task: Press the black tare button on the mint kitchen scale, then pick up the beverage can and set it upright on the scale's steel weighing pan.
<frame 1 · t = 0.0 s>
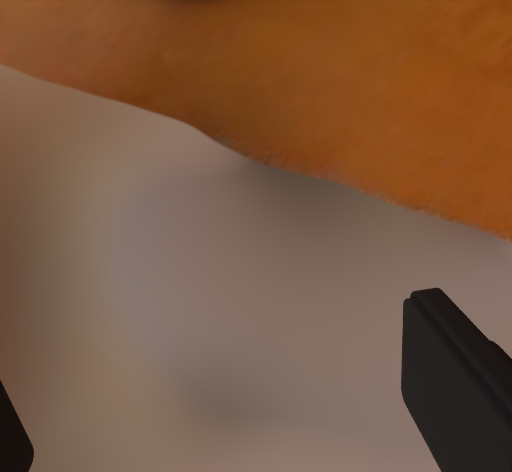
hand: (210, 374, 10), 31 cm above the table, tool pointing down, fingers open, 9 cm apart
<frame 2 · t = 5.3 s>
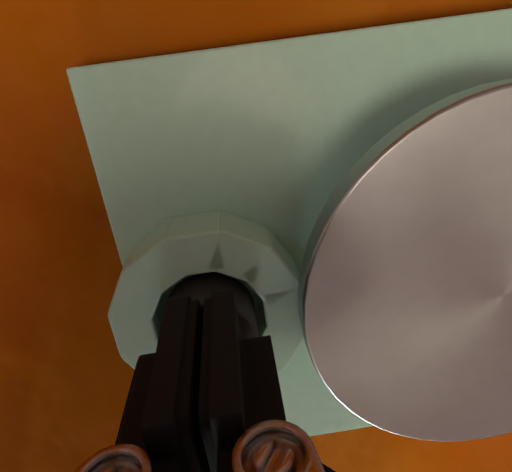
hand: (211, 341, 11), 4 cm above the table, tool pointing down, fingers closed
scale: (366, 249, 15), on the table
scale pan: (486, 280, 12), resting on scale
tare button: (210, 326, 12), point 3 cm above the table, slide at -0.2 cm, touching gripper
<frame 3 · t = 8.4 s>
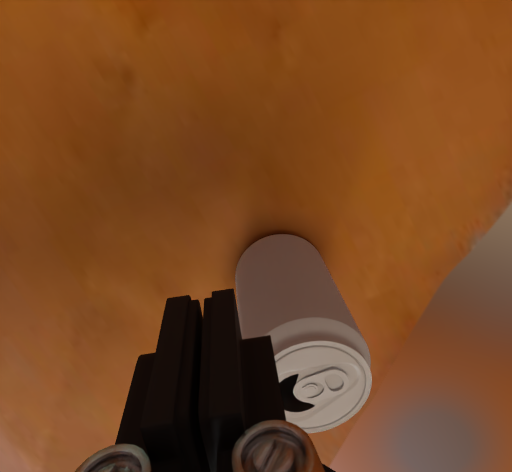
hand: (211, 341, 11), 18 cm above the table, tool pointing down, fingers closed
beverage can: (278, 268, 30), on the table
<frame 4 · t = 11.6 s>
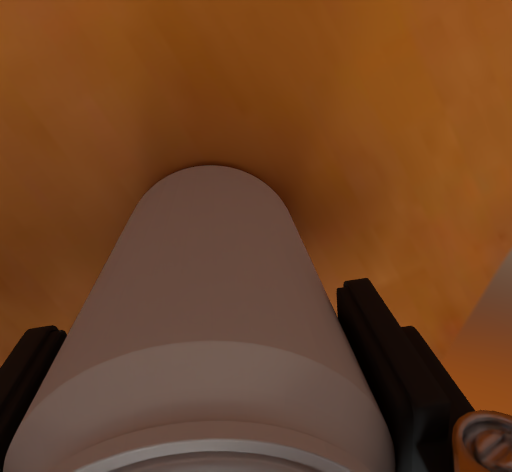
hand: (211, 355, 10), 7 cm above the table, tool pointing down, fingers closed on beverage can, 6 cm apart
beverage can: (213, 236, 17), on the table, touching gripper
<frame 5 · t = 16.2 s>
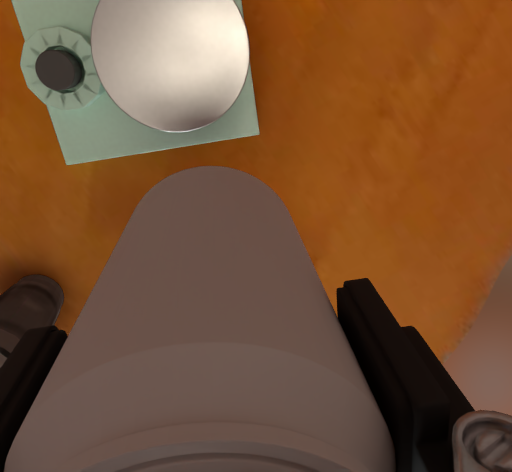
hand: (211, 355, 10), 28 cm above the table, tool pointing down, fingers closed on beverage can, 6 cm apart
scale: (144, 57, 32), on the table
scale pan: (172, 52, 30), resting on scale
beverage can: (213, 236, 17), point 20 cm above the table, touching gripper
tare button: (59, 70, 29), point 4 cm above the table, slide at 0.1 cm
beverage cup: (40, 294, 40), on the table
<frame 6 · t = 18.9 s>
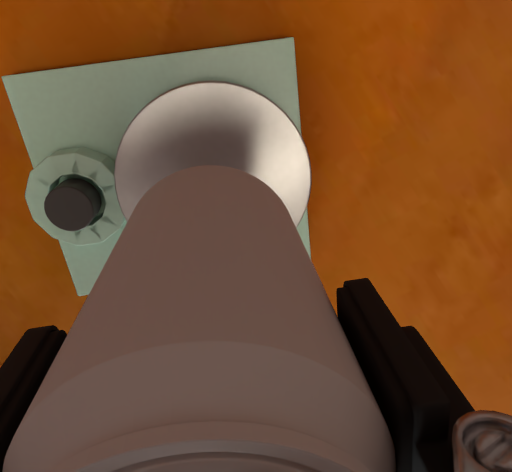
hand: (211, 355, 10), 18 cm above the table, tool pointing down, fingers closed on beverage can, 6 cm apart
scale: (176, 174, 27), on the table
scale pan: (215, 181, 24), resting on scale
beverage can: (213, 236, 17), point 11 cm above the table, touching gripper
tare button: (73, 204, 23), point 4 cm above the table, slide at 0.1 cm
when the fingers open (11 cm above the table, at t = 21.1 s): beverage can stays where it is, resting on scale pan.
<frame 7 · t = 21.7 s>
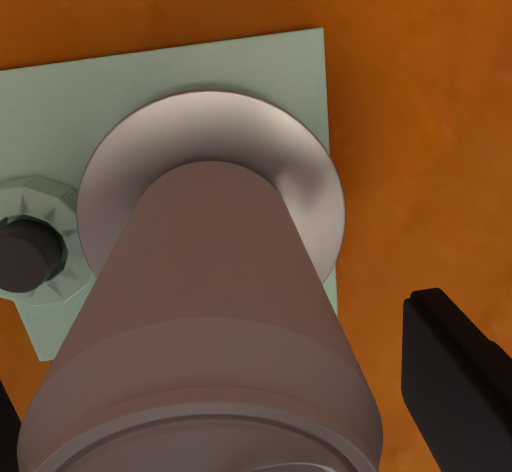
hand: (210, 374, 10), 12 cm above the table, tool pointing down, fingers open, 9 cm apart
scale: (165, 207, 20), on the table
scale pan: (215, 223, 18), resting on scale
beverage can: (213, 230, 17), point 4 cm above the table, touching scale pan
tare button: (22, 255, 17), point 4 cm above the table, slide at 0.1 cm
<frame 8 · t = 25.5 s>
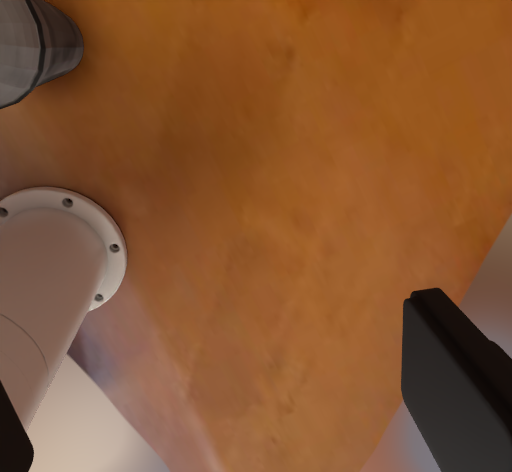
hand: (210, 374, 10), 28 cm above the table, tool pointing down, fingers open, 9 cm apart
beverage cup: (53, 42, 32), on the table
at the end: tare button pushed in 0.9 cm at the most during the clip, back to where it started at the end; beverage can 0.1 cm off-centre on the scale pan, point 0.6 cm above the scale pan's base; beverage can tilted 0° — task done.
